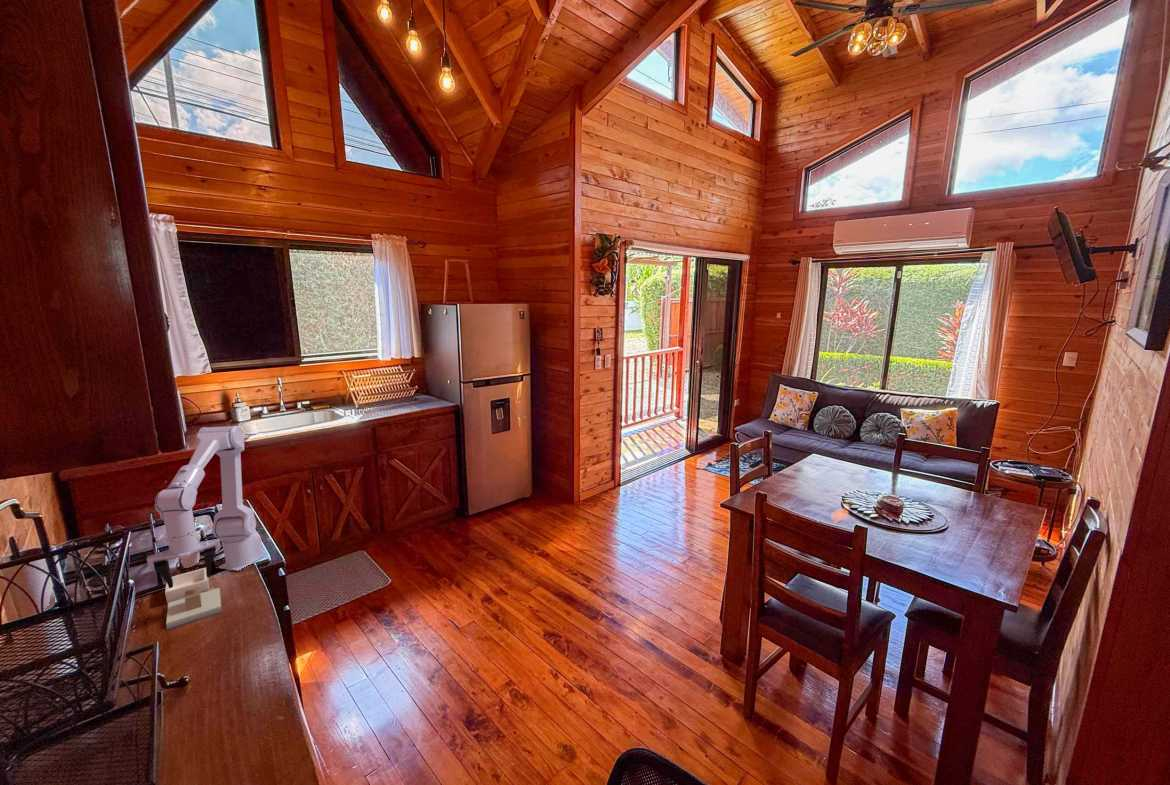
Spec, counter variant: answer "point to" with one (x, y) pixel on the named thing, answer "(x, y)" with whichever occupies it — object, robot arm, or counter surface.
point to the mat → (194, 619)
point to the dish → (187, 584)
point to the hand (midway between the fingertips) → (190, 580)
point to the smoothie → (191, 558)
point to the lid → (193, 605)
